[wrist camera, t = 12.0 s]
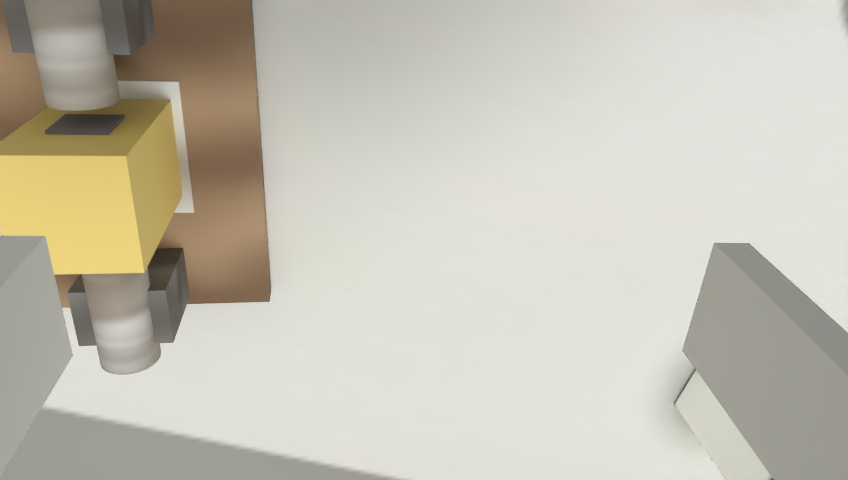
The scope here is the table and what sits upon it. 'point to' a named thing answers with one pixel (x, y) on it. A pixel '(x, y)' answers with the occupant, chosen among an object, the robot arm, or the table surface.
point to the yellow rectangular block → (93, 184)
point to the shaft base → (195, 139)
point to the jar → (718, 433)
